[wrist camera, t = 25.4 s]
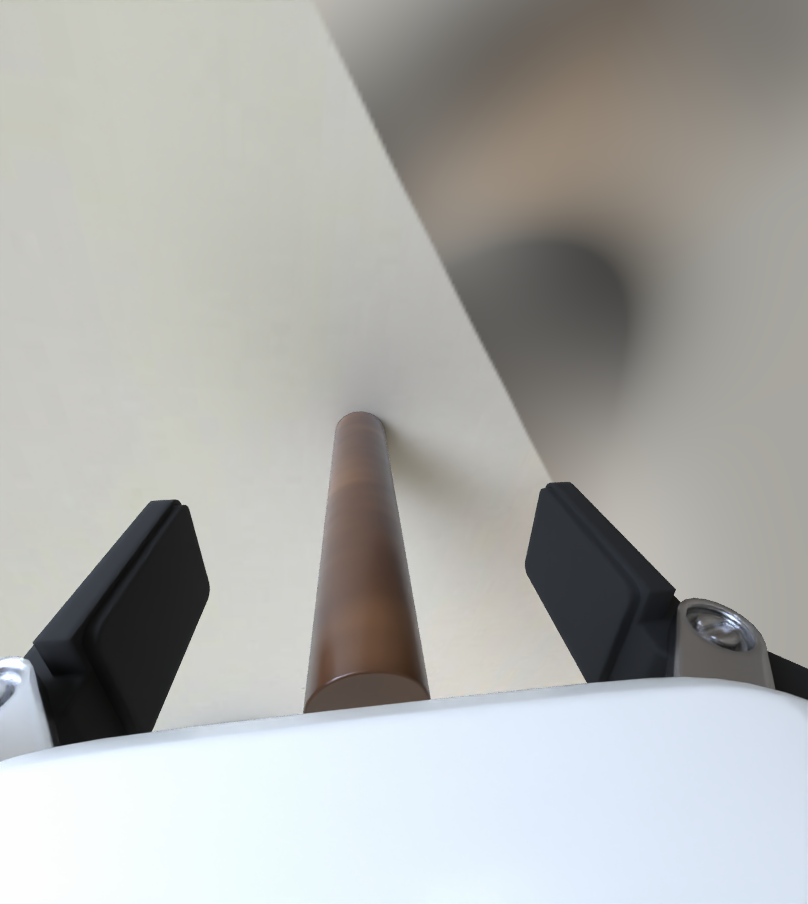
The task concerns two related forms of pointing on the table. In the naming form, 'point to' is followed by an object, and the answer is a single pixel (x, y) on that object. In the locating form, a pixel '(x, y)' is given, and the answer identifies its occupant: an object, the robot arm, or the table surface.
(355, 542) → the stick
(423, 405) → the table surface
